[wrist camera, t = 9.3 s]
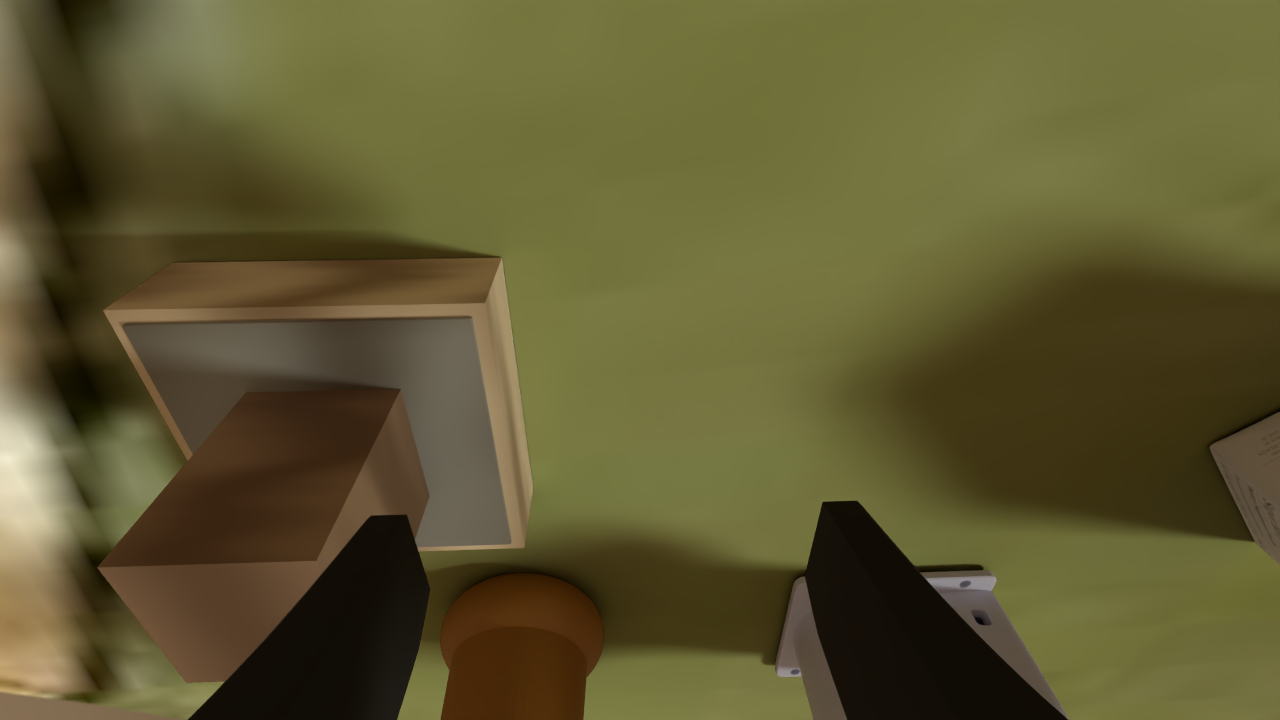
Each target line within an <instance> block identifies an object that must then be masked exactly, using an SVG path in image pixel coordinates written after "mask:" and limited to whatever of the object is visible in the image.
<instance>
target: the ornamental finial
mask: <svg viewBox="0 0 1280 720" xmlns="http://www.w3.org/2000/svg"><path fill="white" fill-rule="evenodd" d="M603 643H604V629H603V623H602V620H601V617H600V614H599V612H598V610H597V608H596V607H595V605H594V604H593V602H592V601H591V600H590V599H589V598H588V597H587V596H586V595H585V594H584V593H583V592H582V591H581V590H579V589H578V588H576V587H575V586H573V585H571V584H570V583H568V582H565V581H563V580H561V579H558V578H555V577H551V576H547V575H543V574H535V573H511V574H504V575H499V576H495V577H492V578H489V579H486V580H484V581H482V582H479V583H477V584H476V585H474V586H472V587H471V588H469V589H468V590H466V591H465V592H464V593H463V594H462V595H461V596H459V597H458V598H457V600H456V601H455V602H454V603H453V604H452V606H451V607H450V609H449V610H448V612H447V614H446V616H445V619H444V621H443V624H442V629H441V636H440V644H441V651H442V655H443V658H444V660H445V663H446V665H447V666H448V668H449V670H450V671H449V677H448V682H447V688H446V693H445V698H444V704H443V709H442V715H441V720H583V716H584V702H585V689H586V677H587V676H588V675H589V674H590V673H591V672H592V670H593V669H594V668H595V666H596V664H597V663H598V660H599V658H600V656H601V653H602V649H603Z"/></svg>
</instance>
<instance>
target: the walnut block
mask: <svg viewBox="0 0 1280 720" xmlns="http://www.w3.org/2000/svg"><path fill="white" fill-rule="evenodd" d="M429 497H430V496H429V492H428V488H427V484H426V481H425V477H424V473H423V469H422V466H421V462H420V458H419V455H418V451H417V447H416V443H415V440H414V436H413V432H412V429H411V425H410V421H409V417H408V414H407V410H406V406H405V403H404V399H403V395H402V391H401V389H382V390H334V391H286V392H246V393H245V394H244V395H243V396H242V398H241V399H240V400H239V401H238V402H237V404H236V405H235V406H234V407H233V408H232V409H231V411H230V412H229V413H228V414H227V415H226V417H225V418H224V419H223V420H222V421H221V422H220V424H219V425H218V426H217V427H216V428H215V429H214V431H213V432H212V433H211V434H210V435H209V437H208V438H207V439H206V440H205V441H204V442H203V444H202V445H201V446H200V447H199V448H198V449H197V451H196V452H195V453H194V454H193V455H192V457H191V458H190V459H189V460H188V461H187V462H186V464H185V465H184V466H183V467H182V468H181V470H180V471H179V472H178V473H177V474H176V475H175V477H174V478H173V479H172V480H171V481H170V482H169V484H168V485H167V486H166V487H165V488H164V490H163V491H162V492H161V493H160V494H159V495H158V497H157V498H156V499H155V500H154V501H153V503H152V504H151V505H150V506H149V507H148V508H147V510H146V511H145V512H144V513H143V514H142V515H141V517H140V518H139V519H138V520H137V521H136V523H135V524H134V525H133V526H132V527H131V528H130V530H129V531H128V532H127V533H126V534H125V535H124V537H123V538H122V539H121V540H120V541H119V543H118V544H117V545H116V546H115V547H114V548H113V550H112V551H111V552H110V553H109V554H108V556H107V557H106V558H105V559H104V560H103V561H102V563H101V564H100V565H99V566H98V567H97V568H98V569H99V570H100V572H101V573H102V574H103V576H104V577H105V578H106V580H107V581H108V582H109V583H110V585H111V586H112V587H113V589H114V590H115V591H116V592H117V594H118V595H119V596H120V598H121V599H122V600H123V601H124V603H125V604H126V605H127V607H128V608H129V609H130V610H131V612H132V613H133V614H134V616H135V617H136V618H137V620H138V621H139V622H140V623H141V625H142V626H143V627H144V629H145V630H146V631H147V632H148V634H149V635H150V636H151V638H152V639H153V640H154V641H155V643H156V644H157V645H158V647H159V648H160V649H161V650H162V652H163V653H164V654H165V656H166V657H167V658H168V660H169V661H170V662H171V663H172V665H173V666H174V667H175V669H176V670H177V671H178V672H179V674H180V675H181V676H182V678H183V679H184V680H185V681H186V683H193V682H219V681H226V680H227V679H228V678H229V677H230V676H231V675H232V674H233V673H234V672H235V671H236V670H237V669H238V667H239V666H240V665H241V664H242V663H243V662H244V661H245V660H246V659H247V658H248V657H249V656H250V655H251V654H252V653H253V652H254V650H255V649H256V648H257V647H258V646H259V645H260V644H261V643H262V642H263V641H264V640H265V639H266V637H267V636H268V635H269V634H270V633H271V632H272V631H273V630H274V628H275V627H276V626H277V625H278V624H279V623H280V622H281V620H282V619H283V618H284V617H285V616H286V615H287V614H288V612H289V611H290V610H291V609H292V608H293V607H294V606H295V604H296V603H297V602H298V601H299V600H300V599H301V598H302V596H303V595H304V594H305V593H306V592H307V591H308V589H309V588H310V587H311V586H312V585H313V584H314V582H315V581H316V580H317V579H318V578H319V576H320V575H321V574H322V573H323V572H324V570H325V569H326V568H327V567H328V566H329V564H330V563H331V562H332V561H333V560H334V558H335V557H336V556H337V555H338V554H339V552H340V551H341V550H342V549H343V548H344V546H345V545H346V544H347V543H348V541H349V540H350V539H351V538H352V537H353V535H354V534H355V533H356V532H357V531H358V529H359V528H360V527H361V526H362V525H363V523H364V522H365V521H366V520H367V519H368V518H369V517H370V516H371V515H404V514H407V516H408V519H409V523H410V526H411V529H412V532H413V535H414V539H415V538H416V535H417V532H418V529H419V526H420V523H421V520H422V517H423V514H424V512H425V509H426V506H427V503H428V500H429Z"/></svg>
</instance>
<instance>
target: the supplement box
mask: <svg viewBox="0 0 1280 720" xmlns="http://www.w3.org/2000/svg"><path fill="white" fill-rule="evenodd" d="M1210 451H1211V453H1212V455H1213V457H1214V459H1215V462H1216V464H1217V466H1218V468H1219V470H1220V472H1221V474H1222V476H1223V478H1224V480H1225V482H1226V484H1227V486H1228V488H1229V490H1230V492H1231V495H1232V497H1233V499H1234V501H1235V503H1236V505H1237V507H1238V509H1239V511H1240V513H1241V515H1242V517H1243V519H1244V521H1245V523H1246V525H1247V527H1248V529H1249V531H1250V533H1251V535H1252V537H1253V539H1254V541H1255V542H1256V544H1257V545H1258V546H1259V547H1260V548H1261V549H1263V550H1264V551H1265V552H1266V553H1267V554H1268V555H1269V556H1270V557H1272V558H1273V559H1274V560H1275V561H1276V562H1277V563H1278V564H1279V565H1280V412H1278V413H1276V414H1274V415H1272V416H1270V417H1268V418H1266V419H1264V420H1262V421H1260V422H1258V423H1256V424H1254V425H1252V426H1249V427H1247V428H1245V429H1243V430H1241V431H1239V432H1237V433H1235V434H1233V435H1231V436H1229V437H1227V438H1224V439H1222V440H1220V441H1217V442H1215V443H1213V444H1212V445H1211V446H1210Z"/></svg>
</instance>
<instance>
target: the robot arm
mask: <svg viewBox="0 0 1280 720" xmlns="http://www.w3.org/2000/svg"><path fill="white" fill-rule="evenodd" d="M995 583H996V578H995V576H994V575H993V573H992V572H991V571H988V570H975V571H946V572H919V571H918V570H917V569H916V567H915V566H914V565H913V564H912V563H911V562H910V561H909V559H908V558H907V557H906V556H905V555H904V554H903V553H902V551H901V550H900V549H899V548H898V547H897V546H896V545H895V543H894V542H893V541H892V540H891V539H890V538H889V537H888V535H887V534H886V533H885V532H884V531H883V530H882V528H881V527H880V526H879V525H878V524H877V523H876V521H875V520H874V519H873V518H872V517H871V516H870V514H869V513H868V512H867V511H866V510H865V509H864V507H863V506H862V505H861V504H860V503H859V502H858V501H834V502H823V503H822V507H821V511H820V515H819V519H818V523H817V528H816V532H815V536H814V540H813V544H812V548H811V552H810V556H809V561H808V565H807V569H806V573H805V577H800V578H798V579H797V580H796V581H795V582H794V584H793V588H792V593H791V597H790V602H789V606H788V610H787V615H786V619H785V623H784V628H783V632H782V637H781V641H780V645H779V650H778V654H777V658H776V663H775V671H776V674H777V675H778V676H781V677H796V676H802V679H803V683H804V686H805V690H806V694H807V697H808V701H809V705H810V709H811V712H812V716H813V720H1069V718H1068V716H1067V715H1066V713H1065V711H1064V709H1063V707H1062V706H1061V704H1060V702H1059V701H1058V699H1057V697H1056V696H1055V694H1054V692H1053V691H1052V689H1051V687H1050V686H1049V684H1048V682H1047V681H1046V679H1045V677H1044V676H1043V674H1042V673H1041V671H1040V669H1039V668H1038V666H1037V664H1036V663H1035V661H1034V659H1033V658H1032V656H1031V654H1030V653H1029V651H1028V650H1027V648H1026V646H1025V645H1024V643H1023V641H1022V640H1021V638H1020V636H1019V635H1018V633H1017V631H1016V630H1015V628H1014V626H1013V625H1012V623H1011V622H1010V620H1009V618H1008V617H1007V615H1006V613H1005V612H1004V610H1003V608H1002V607H1001V605H1000V603H999V602H998V600H997V599H996V597H995V595H994V594H993V592H992V589H993V587H994V585H995ZM429 592H430V587H429V584H428V581H427V577H426V574H425V571H424V568H423V565H422V561H421V558H420V555H419V552H418V548H417V545H416V542H415V539H414V535H413V532H412V529H411V526H410V523H409V519H408V516H407V514H404V515H371V516H370V517H369V518H368V519H367V520H366V521H365V522H364V523H363V525H362V526H361V527H360V528H359V529H358V531H357V532H356V533H355V534H354V535H353V537H352V538H351V539H350V540H349V541H348V543H347V544H346V545H345V546H344V548H343V549H342V550H341V551H340V552H339V554H338V555H337V556H336V557H335V558H334V560H333V561H332V562H331V563H330V564H329V566H328V567H327V568H326V569H325V570H324V572H323V573H322V574H321V575H320V576H319V578H318V579H317V580H316V581H315V582H314V584H313V585H312V586H311V587H310V588H309V589H308V591H307V592H306V593H305V594H304V595H303V596H302V598H301V599H300V600H299V601H298V602H297V603H296V604H295V606H294V607H293V608H292V609H291V610H290V611H289V612H288V614H287V615H286V616H285V617H284V618H283V619H282V620H281V622H280V623H279V624H278V625H277V626H276V627H275V628H274V630H273V631H272V632H271V633H270V634H269V635H268V636H267V637H266V639H265V640H264V641H263V642H262V643H261V644H260V645H259V646H258V647H257V648H256V649H255V650H254V652H253V653H252V654H251V655H250V656H249V657H248V658H247V659H246V660H245V661H244V662H243V663H242V664H241V665H240V666H239V667H238V669H237V670H236V671H235V672H234V673H233V674H232V675H231V676H230V677H229V678H228V679H227V680H226V681H225V682H224V683H223V684H222V685H221V687H220V688H219V689H218V690H217V691H216V692H215V693H214V694H213V695H212V696H211V697H210V698H209V699H208V700H207V701H206V702H205V703H204V704H203V705H202V706H201V707H200V708H199V709H198V710H197V711H196V712H195V713H194V714H193V715H192V716H191V717H190V718H189V719H188V720H397V718H398V715H399V711H400V708H401V705H402V702H403V699H404V695H405V692H406V689H407V686H408V683H409V679H410V676H411V673H412V670H413V666H414V663H415V660H416V656H417V653H418V650H419V645H420V640H421V635H422V630H423V625H424V620H425V615H426V609H427V604H428V598H429Z"/></svg>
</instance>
